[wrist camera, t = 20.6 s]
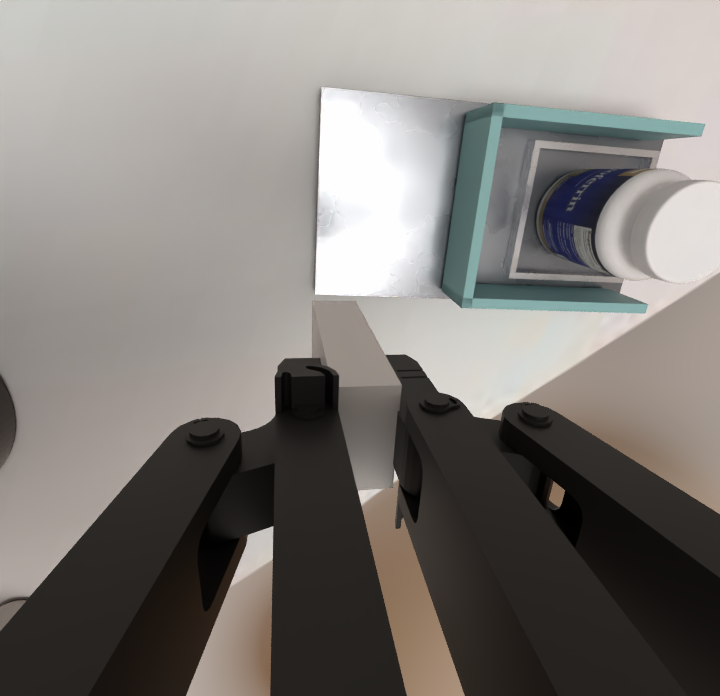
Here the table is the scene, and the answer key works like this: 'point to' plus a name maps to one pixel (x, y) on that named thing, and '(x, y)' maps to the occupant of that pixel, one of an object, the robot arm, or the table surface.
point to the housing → (476, 193)
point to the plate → (440, 196)
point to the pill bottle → (634, 223)
